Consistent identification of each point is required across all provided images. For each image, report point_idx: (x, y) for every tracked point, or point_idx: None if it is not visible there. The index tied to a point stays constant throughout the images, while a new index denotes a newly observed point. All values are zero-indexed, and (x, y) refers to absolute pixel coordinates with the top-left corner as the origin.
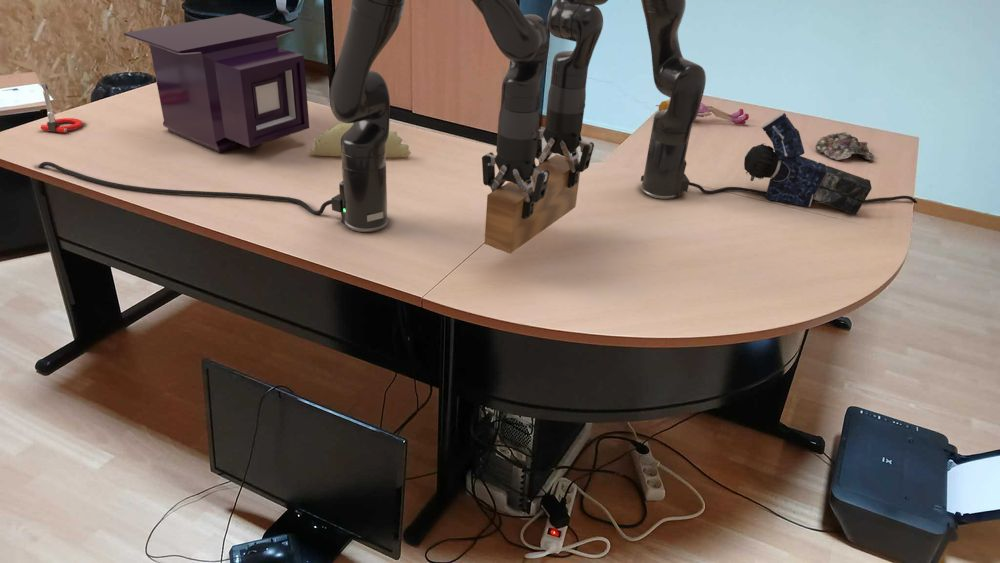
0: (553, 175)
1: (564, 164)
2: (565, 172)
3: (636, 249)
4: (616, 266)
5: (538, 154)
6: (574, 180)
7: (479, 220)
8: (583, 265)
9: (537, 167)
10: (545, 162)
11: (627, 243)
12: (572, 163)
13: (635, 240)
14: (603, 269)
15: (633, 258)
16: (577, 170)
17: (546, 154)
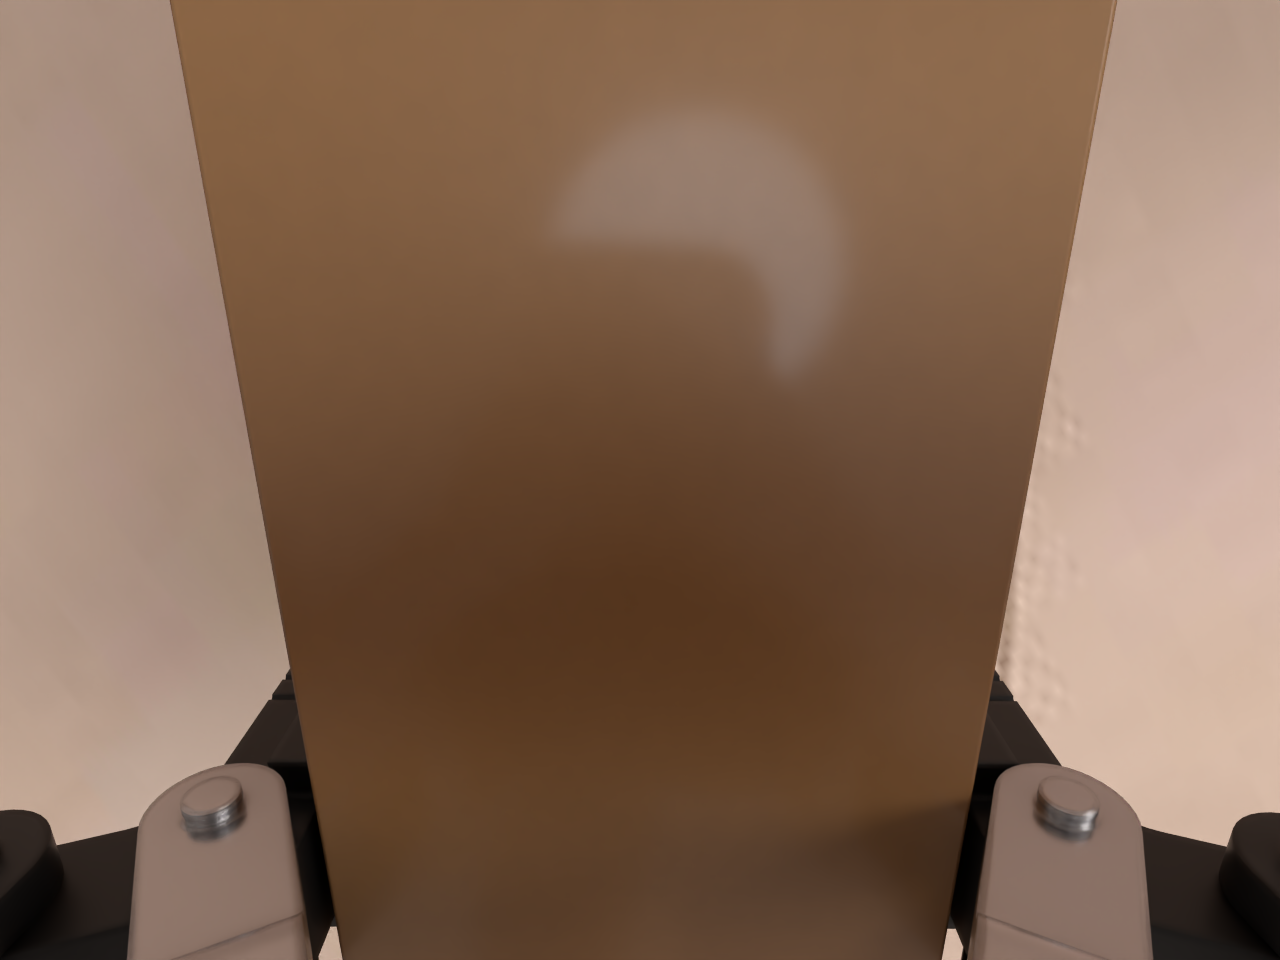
0: (356, 256)
1: (542, 930)
2: (284, 634)
3: (78, 600)
4: (4, 296)
5: (1218, 930)
6: (277, 690)
7: (1244, 249)
8: (179, 137)
9: (970, 427)
10: (926, 788)
11: (172, 634)
12: (159, 938)
13: (162, 697)
14: (35, 186)
15: (7, 480)
16: (133, 844)
17: (989, 947)
